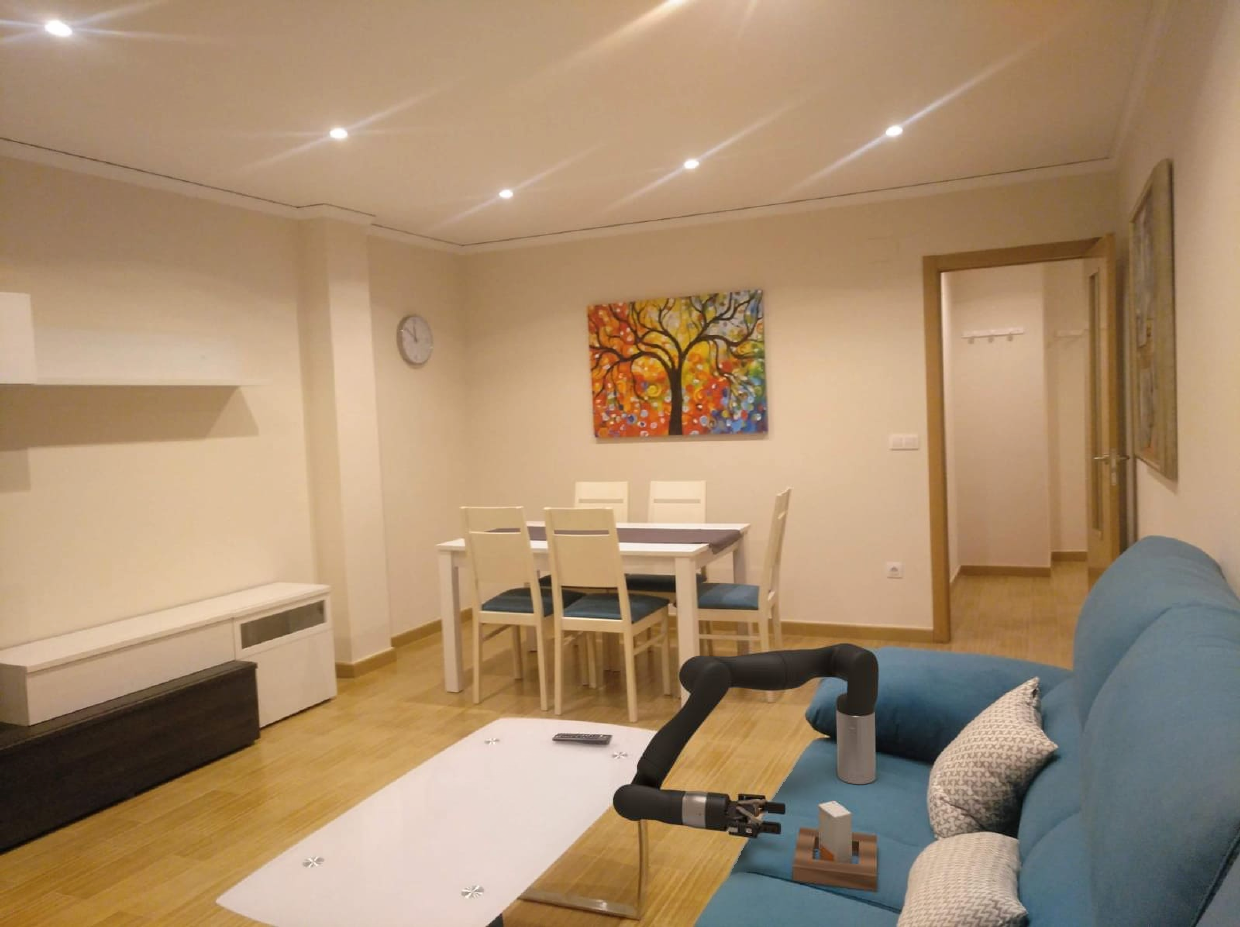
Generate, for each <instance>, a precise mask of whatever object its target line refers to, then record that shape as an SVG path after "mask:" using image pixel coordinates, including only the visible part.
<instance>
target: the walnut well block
mask: <svg viewBox="0 0 1240 927" xmlns="http://www.w3.org/2000/svg"><path fill="white" fill-rule="evenodd" d="M815 849H818V850H819V828H813V827H806V826H805V827H804V826H799V828H798V835H797V840H796V847H795V852H794V858H793V864H792V881H793V882H800V883H809V884H817V885H826V886H831V887H841V888H848V889H856V890H865V891H873V892H878V835H877V834H872V833H861V832H852V854H853V855H854V856H858V863H852V864H849V863H841V862H832V861H824V860H820V859H815V857H816V850H815ZM853 855H852V856H853ZM814 856H815V857H814Z"/></svg>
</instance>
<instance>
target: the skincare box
mask: <svg viewBox="0 0 1240 927" xmlns="http://www.w3.org/2000/svg"><path fill="white" fill-rule="evenodd" d="M817 806H818V808H817V809H818V829H819V851H818V860H824V861H832V862H841V863H849V864H853V855H852V813H851V812H850V811H849V810H847V808H846V807H844V806H843V805H841V804H840V803H838V802H837V801H835V800H832V801H827V802H823V803H818V805H817Z"/></svg>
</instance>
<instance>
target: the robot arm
mask: <svg viewBox="0 0 1240 927" xmlns="http://www.w3.org/2000/svg"><path fill="white" fill-rule="evenodd" d="M879 672H880V670H879V661H878V659H877V656H876V655H875V653H873V652H872V651H870V650H868V649H866V648H863V647H861V646H859V645H856V644H853V643H849V642H842V643H837V644H834V645H829V646H827V645H826V646H824V647H823V646H822V647H819V648H801V649H783V650H770V651H765V652H763V651H762V652H755V653H748V654H741V655H734V656H722V655H721V656H714V655H696V656H695V655H694V656H693V657H690V658H689V659H687V660H686V661H685V662H684V663H683V664H682V666H681V667H680V669H679V673H678V679H679V682H680V684H681V686H682V687H683V689H684V690H686V692H688V693H689V695H688V698H687V700H686V702H685V703H684V705H683V706H682V707H681V709H680V710H679V711H678V712H677V713H676V714H675V715H674V716H673V717H672V718H671V719H670V720H669V721H667V723H665V724H664V725H663V726H662V727H661V728H660V729H659V730H658V731H657V732H656V733H655V734H654V736H652V738H651V739H650V741H649V742H648V744H647V746H646V748H645V749H644V751H643V752H642V754H641V756H640V758H639V759H638V761H637V764H636V773H635V774H634V777H633V778H632V780H631V783H626V784H623V785H622V786H619V787H618V788H617V789H616V790H615V791H614V794H613V796H612V805H613V809H614V811H615V812H616V814H618V816H620V817H621V818H623V819H626V820H628V821H631V822H639V821H642V820H647V821H655V822H660V823H663V824H667V825H674V826H681V827H683V826H684V827H688V828H692V829H700V830H706V831H714V832H715V831H716V832H722V833H723V832H724V833H726V832H727V831H728V835H729V836H734V837H741V838H747V839H755V840H756V839H758V838H759V837H758V835H762V834H772V835H781V833H782V824H781V822H777V821H769V820H761V819H758V818H759V816H760V814H765V813H767V814H774V815H785V814H786V810H787V809H786V804H785V803H784V802H776V801H775V802H774V801H768V800H767V798H766V795H764V794H754V793H753V794H751V793H750V794H749V793H737V800H732V799H731V796H730V795H729V794H728V793H724V792H721V793H720V792H714V791H703V790H681V789H680V790H679V789H664V788H662V785H663V783H664V781H665V780H666V778H667V777H668V776H669V773H670V772H671V770H672V769H673V768H674V767H673V766H674V765H675V764H676V762H677V761H678V758H679V756H680V755H681V753H682V752H683V750H684V748H685V747H686V746H687V744H688V742H689V741H690V740H691V739H692V737H693V736H694V734H695V733H696V732H697V731H698V729H699V728H700V727H701V725H702V724H703V723H705V721H706V719H707V718H708V717H709V716H710V714H711V713H712V712H713V711H714V710H715V708H716V707H717V706H718V705H719V704H720V702H721V701H722V700H723V698H724V697H725V696H726V695H727V693H728V691H729V689H730V688H734V689H735V688H736V689H737V688H738V689H740V688H741V689H746V690H753V691H756V690H757V691H767V692H769V691H770V692H774V691H775V692H776V691H778V692H779V691H785V690H786V691H787V690H794V689H798V688H800V687H803V686H804V685H805V684H807V683H808V682H810V681H811V680H813V679H817V678H835V679H839V680H842V681H844V682H846V683H847V684H846V685H847V688H846V693H842V694H839V695H838V696H837V698H836V701H835V707H836V708H835V709H836V711H835V712H836V713H835V714H836V749H837V750H836V751H837V752H836V754H837V757H836V758H837V765H836V766H837V768H836V769H837V778H839V779H840V780H841V781H843V782H845V783H848V784H851V785H852V784H854V785H867V784H871V783H873V782H874V781H875V780H876V778H877V777H876V772H877V771H876V769H877V768H876V717H875V716H876V714H875V712H876V711H875V708H876V704H877V703H876V702H877V700H878V696H879V678H880V677H879V676H880V674H879Z"/></svg>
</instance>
